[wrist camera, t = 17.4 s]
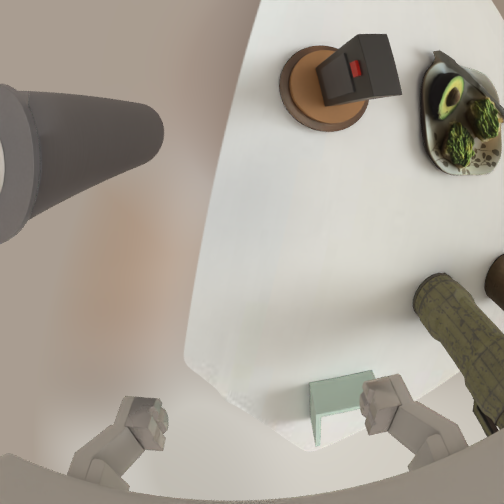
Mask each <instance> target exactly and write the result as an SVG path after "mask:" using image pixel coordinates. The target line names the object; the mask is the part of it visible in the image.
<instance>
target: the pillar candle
mask: <svg viewBox="0 0 504 504" xmlns="http://www.w3.org/2000/svg"><path fill="white" fill-rule="evenodd" d="M485 291H486V294H487V296H488V297H489V298H491V299H492V300H493V301H494V302H495V303H496V304H497V305H498V306H499V307H500V308H501V309H502V310H503V311H504V254H503V255H502V256H500V257H499V258H498V259H497V260H496V261H495V262H494V264H493V265H492V266H491V268H490V270H489V272H488V274H487V277H486V281H485Z"/></svg>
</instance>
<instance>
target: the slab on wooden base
mask: <svg viewBox="0 0 504 504" xmlns="http://www.w3.org/2000/svg"><path fill="white" fill-rule="evenodd" d="M289 87H290V93H291V96H292V98H293V101H294V102H295V104H296V106H297V107H298V108H299V109H300V110H301V111H302V112H303V113H304V114H305V115H306V116H308V117H309V118H311V119H313V120H315V121H318V122H322V123H341V122H344V121H347V120H349V119H351V118H352V117H354V116H355V115H356V114H357V113H358V112H359V111H360V110H361V108H362V106H363V105H364V102H365V100H370V99H376V98H383V97H389V96H397V95H402V91H401V87H400V82H399V78H398V73H397V69H396V65H395V61H394V58H393V54H392V50H391V47H390V43H389V40H388V37H387V34H358V35H356V36H355V37H354V38H352V39H351V40H350V41H348V42H347V43H346V44H344V45H343V46H342V47H341V48H339V49H338V50H337V51H330V50H319V51H315V52H311V53H309V54H307V55H305V56H304V57H303V58H301V59H300V60H299V61H298V63H297V64H296V65H295V67H294V68H293V70H292V72H291V76H290V81H289Z"/></svg>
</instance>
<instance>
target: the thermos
mask: <svg viewBox="0 0 504 504" xmlns="http://www.w3.org/2000/svg"><path fill="white" fill-rule="evenodd" d="M413 308H414V311H415V312H416V314H417V315H418V316H419V317H420V321H421V322H422V323H423V325H424V326H425V328H426V329H427V330H428V332H429V333H430V334H431V336H432V337H433V338H434V339H436V340H438V341H440V342H441V344H442V345H443V346H444V348H445V349H446V351H447V352H448V354H449V355H450V356H451V358H452V359H453V361H454V362H455V364H456V365H457V367H458V368H459V370H460V371H461V372H462V374H463V376H464V378H465V385H466V387H467V388H468V390H469V392H470V393H471V395H472V396H473V399H474V405H473V412H474V414H475V416H476V417H477V419H478V421H479V422H480V424H481V426H482V428H483V430H484V432H485V434H486V435H487V437H488V436H490V435H492V434H494V433H496V432H497V431H499V430H498V429H497V427H496V426H498V427H499V429H500V430H501V429H502V428H504V334H503V333H502V332H501V331H500V330H499V329H498V327H497V326H496V325H495V324H494V323H493V322H492V321H491V320H490V319H489V318H488V317H487V316H486V315H485V314H484V313H483V312H482V310H481V309H480V308H479V307H478V306H477V305H476V304H475V302H474V299H473V298H472V296H471V294H470V293H469V292H467V291H466V290H465V289H464V288H463V287H462V286H461V285H460V284H459V283H458V282H456V281H454V280H453V279H452V278H451V277H450V276H449V275H447V274H445V273H437V274H434V275H432V276H430V277H429V278H427V279H426V280H425V281H424V282H423V283H422V284H421V285H420V286H419V288H418V290H417V291H416V293H415V296H414V299H413Z"/></svg>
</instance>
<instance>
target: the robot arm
mask: <svg viewBox="0 0 504 504" xmlns="http://www.w3.org/2000/svg"><path fill="white" fill-rule="evenodd" d="M4 173H5V162H4V153H3V148H2V144H1V141H0V193H1V190H2V187H3V182H4ZM362 388H363V392H362V393H361V394H360V399H359V401H360V410H361V413H362V415H363V416H365V417H366V421H365V425H366V428H367V431H368V434H369V435H373V434H378V433H382V432H386V431H388V432H389V433H390V434H391V435H392V436H393V437H394V438H396V439H397V440H398V441H399V442H400V443H402V444H403V445H404V446H405V447H407V448H408V449H409V450H410V451H411V452H413V453H414V454H415V457H414V458H413V460H412V461H411V463H410V464H409V465H408V469H409V472H406V473H403V474H400V475H396V476H393V477H390V478H386V479H383V480H380V481H376V482H372V483H368V484H365V485H360V486H356V487H352V488H347V489H342V490H337V491H333V492H326V493H321V494H315V495H307V496H300V497H291V498H281V499H268V500H247V501H215V500H213V501H212V500H193V499H181V498H171V497H162V496H155V495H148V494H142V493H136V492H131V491H129V487H130V486H129V485H128V483H126V482H125V481H124V480H123V479H122V478H121V476H122V475H123V474H124V473H125V472H126V471H127V470H128V468H129V467H130V466H131V465H132V464H133V463H134V462H135V461H136V460H137V459H138V458H139V457H140V455H141V454H142V453H143V452H144V451H145V450H156V451H163V449H164V444H165V437H164V435H163V434H164V433H165V432H166V431H167V429H168V415H167V412H166V410H165V409H163V408H162V407H161V406H162V402H161V400H160V399H158V398H144V397H132V396H125V397H124V398H123V400H122V403H121V405H120V408H119V411H118V414H117V416H116V419H115V422H114V425H110V426H108V427H107V428H106V429H105V430H104V431H102V432H101V433H100V434H98V435H97V436H96V437H95V438H93V439H92V440H91V441H89V442H88V443H87V444H86V445H85V446H83V447H82V448H81V449H79V450H78V451H77V452H75V455H74V457H73V460H72V462H71V465H70V468H69V471H68V473H67V475H64V474H61V473H58V472H55V471H53V470H50V469H47V468H44V467H42V466H39V465H37V464H34V463H32V462H29V461H27V460H24V459H22V458H20V457H18V456H16V455H13V454H9V453H8V454H5V455H3V456H1V457H0V504H504V428H502V429H501V430H499V431H497V432H496V433H494V434H492V435H490V436H488V437H487V438H485V439H483V440H481V441H479V442H477V443H475V444H473V445H471V446H468V444H467V443H466V440H465V438H464V436H463V434H462V433H461V431H460V428H459V427H458V425H457V424H456V423H454V422H452V421H450V420H448V419H447V418H445V417H443V416H442V415H440V414H438V413H437V412H435V411H433V410H431V409H430V408H428V407H426V406H425V405H423V404H421V403H419V402H418V401H415V402H414V401H413V399H412V397H411V395H410V393H409V391H408V389H407V387H406V385H405V383H404V381H403V379H402V377H401V375H400V374H395V375H391V376H385V377H381V378H377V379H373V380H368V381H364V383H363V386H362Z"/></svg>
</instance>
